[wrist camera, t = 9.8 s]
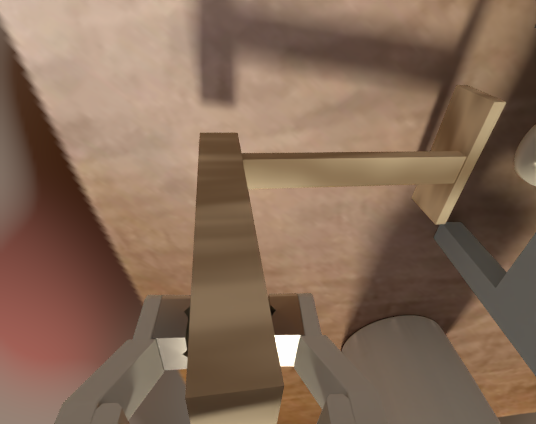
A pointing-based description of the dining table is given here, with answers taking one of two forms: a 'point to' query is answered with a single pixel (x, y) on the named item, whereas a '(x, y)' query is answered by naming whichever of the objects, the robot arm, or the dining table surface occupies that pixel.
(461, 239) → the wooden top stool
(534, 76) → the dining table surface
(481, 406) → the utensil holder
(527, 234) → the dining table surface
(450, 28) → the dining table surface
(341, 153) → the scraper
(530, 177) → the smooth oval stone
